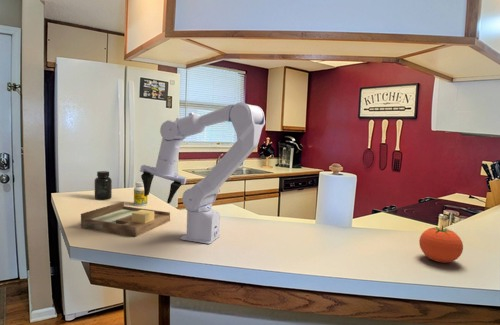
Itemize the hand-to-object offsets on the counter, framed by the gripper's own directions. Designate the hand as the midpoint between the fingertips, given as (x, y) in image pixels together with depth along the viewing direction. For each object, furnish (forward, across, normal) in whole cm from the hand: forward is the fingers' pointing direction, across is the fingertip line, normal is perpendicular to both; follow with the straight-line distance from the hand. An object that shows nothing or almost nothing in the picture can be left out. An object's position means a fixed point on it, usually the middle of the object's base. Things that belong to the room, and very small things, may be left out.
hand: (157, 198), depth 103 cm
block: (+9, +3, -1) cm, 10 cm away
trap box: (+12, +8, -2) cm, 15 cm away
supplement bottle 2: (+17, +15, -28) cm, 36 cm away
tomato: (-11, -82, +11) cm, 84 cm away
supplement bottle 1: (+22, +34, -35) cm, 53 cm away
